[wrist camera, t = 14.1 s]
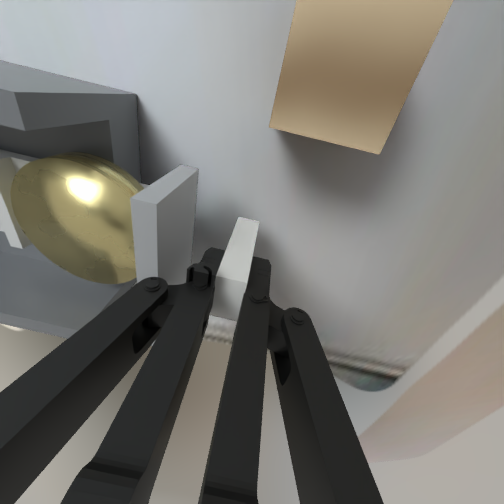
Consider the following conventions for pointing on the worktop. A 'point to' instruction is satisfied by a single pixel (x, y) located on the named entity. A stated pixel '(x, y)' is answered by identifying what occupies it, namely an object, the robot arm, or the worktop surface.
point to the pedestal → (353, 67)
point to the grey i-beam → (143, 219)
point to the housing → (48, 144)
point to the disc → (79, 214)
